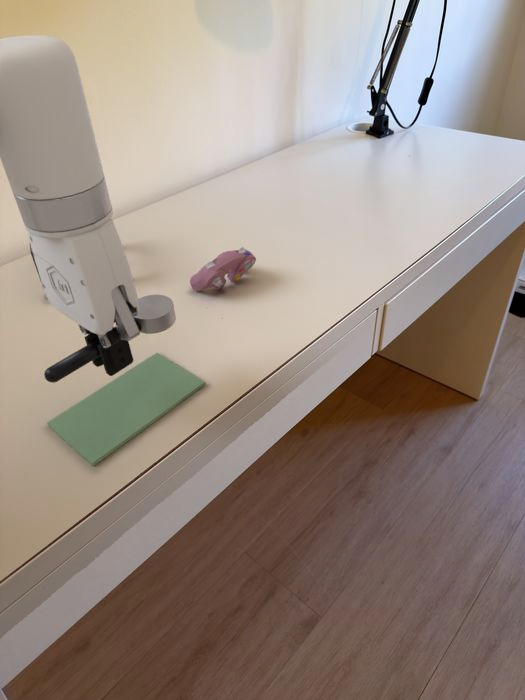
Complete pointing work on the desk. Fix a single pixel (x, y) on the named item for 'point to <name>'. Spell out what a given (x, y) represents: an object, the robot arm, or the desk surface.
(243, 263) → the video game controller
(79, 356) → the grey saucepan
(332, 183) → the desk surface
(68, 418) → the mat
